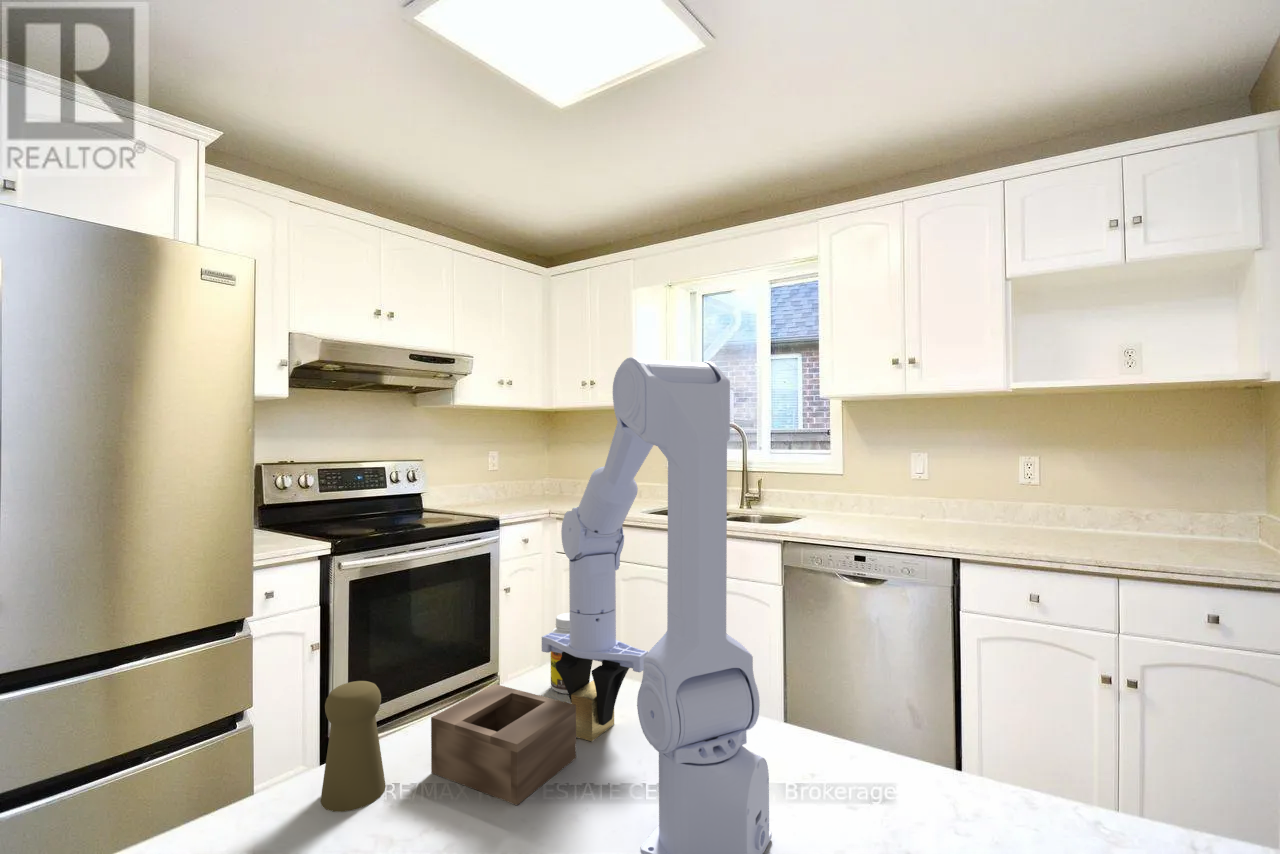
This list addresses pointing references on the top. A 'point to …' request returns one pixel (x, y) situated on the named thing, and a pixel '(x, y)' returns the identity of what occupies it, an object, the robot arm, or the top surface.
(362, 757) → the cork
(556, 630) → the supplement bottle
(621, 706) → the top surface
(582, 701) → the block
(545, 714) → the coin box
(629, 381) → the robot arm
